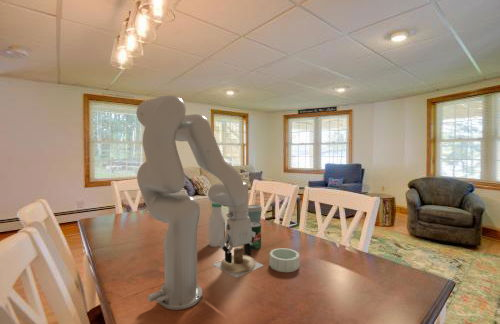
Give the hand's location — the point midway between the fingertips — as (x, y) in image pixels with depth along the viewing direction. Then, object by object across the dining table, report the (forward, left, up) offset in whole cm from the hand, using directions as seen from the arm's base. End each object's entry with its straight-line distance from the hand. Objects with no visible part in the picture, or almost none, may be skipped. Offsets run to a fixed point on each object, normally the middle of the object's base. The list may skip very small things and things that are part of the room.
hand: (238, 258), depth 97 cm
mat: (0, 0, -3) cm, 3 cm away
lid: (0, 0, -3) cm, 3 cm away
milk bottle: (+7, +24, -3) cm, 25 cm away
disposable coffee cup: (+31, +25, -3) cm, 40 cm away
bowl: (+13, -12, -3) cm, 18 cm away
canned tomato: (+17, +10, -3) cm, 20 cm away
